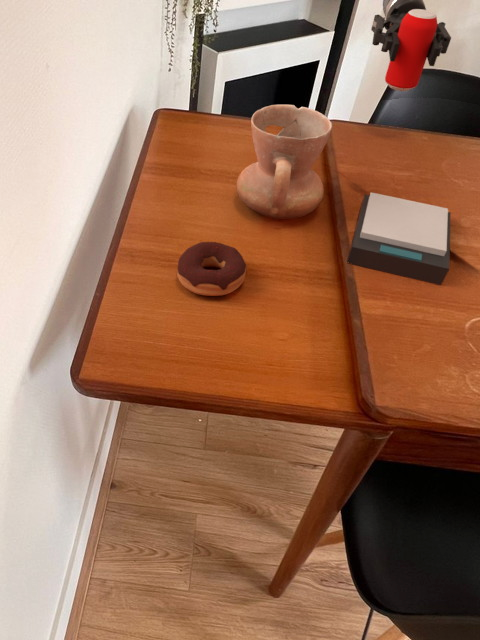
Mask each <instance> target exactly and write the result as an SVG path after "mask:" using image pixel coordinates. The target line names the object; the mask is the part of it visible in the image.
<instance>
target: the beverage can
mask: <svg viewBox="0 0 480 640" xmlns="http://www.w3.org/2000/svg"><path fill="white" fill-rule="evenodd" d="M437 24H438V17H437V14H436V13H435V12H433V11H431V10H427V9H426V10H423V9H413V10H411V11H409V12H408V13H407V14H406V15H405V17H404V18H403V20H402V22H401V25H400V28H399V32H398V38H399V44H400V45H399V48H398V51H397V55H396V58H395V62H394V61H390V60H389V63H388V65H387V70H386V74H385V77H384V81H385V83H386V85H387V86H388V87H389V88H390V89H391V90H394V91H397V92H398V91H399V92H407V91H410V90H413V89H415V88H416V87H417V86H418V85H419V83H420V80H421V76H422V73H423V70H424V67H425V64H426V62H427V60H428V59H427V56H428V53H429V50H430V47H431V44H432V41H433V38H434V35H435V32H436V29H437Z"/></svg>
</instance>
